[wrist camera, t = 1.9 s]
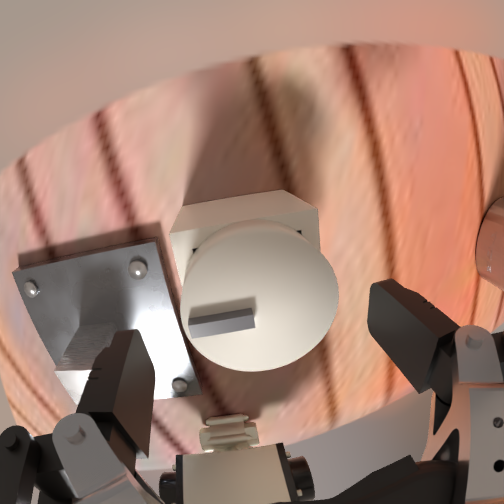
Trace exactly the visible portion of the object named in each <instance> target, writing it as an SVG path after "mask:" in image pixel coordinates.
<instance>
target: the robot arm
mask: <svg viewBox="0 0 504 504" xmlns="http://www.w3.org/2000/svg"><path fill="white" fill-rule="evenodd" d="M476 266H477V270H478V272H479V275H480V276H481V277H482V278H484V279H485V280H487V281H488V282H490V283H492V284H493V285H495V286H496V287H498V288H499V289H501V290H502V291H504V198H500V199H498V200H496V201H495V202H494V203H493V204H492V206H491V207H490V209H489V210H488V212H487V214H486V216H485V218H484V221H483V223H482V226H481V229H480V233H479V236H478V242H477V247H476ZM367 323H368V329H369V332H370V334H371V335H372V337H373V338H374V339H375V340H376V341H377V343H378V344H379V345H380V346H381V347H382V349H383V350H384V351H385V352H386V354H387V355H388V356H389V357H390V358H391V360H392V361H393V362H394V363H395V364H396V366H397V367H398V368H399V369H400V371H401V372H402V373H403V374H404V376H405V377H406V378H407V379H408V380H409V382H410V383H411V384H412V385H413V387H414V388H415V389H416V391H417V392H418V393H419V394H420V393H422V392H424V391H426V390H428V389H430V388H432V389H433V391H434V392H433V395H432V399H431V414H430V424H429V433H428V441H427V445H426V448H425V451H424V453H423V455H422V458H421V461H420V462H414V460H413V458H412V457H411V455H408V456H406V457H404V458H402V459H400V460H398V461H396V462H394V463H392V464H390V465H388V466H386V467H383V468H381V469H379V470H377V471H374V472H372V473H371V474H369V475H368V476H366V477H365V478H363V479H362V480H360V481H359V482H358V483H356V484H354V485H353V486H351V487H350V488H348V489H347V490H345V491H344V492H342V493H340V494H339V495H337V496H335V497H333V498H330V499H325V500H314V501H297V502H276V503H271V504H504V331H503V332H499V333H495V334H490V333H489V332H488V331H487V330H485V329H484V328H482V327H479V326H475V325H466V326H463V327H460V326H458V325H457V324H456V323H455V322H454V321H452V320H451V319H450V318H449V317H448V316H446V315H445V314H444V313H443V312H441V311H440V310H439V309H438V308H435V306H434V305H433V304H431V303H430V302H427V300H426V299H425V298H424V297H422V296H421V295H420V294H419V293H417V292H414V291H412V290H409V289H407V288H404V287H403V286H402V285H400V284H399V283H398V282H396V281H395V280H394V279H387V280H383V281H380V282H376V283H373V284H372V285H371V287H370V296H369V308H368V318H367ZM91 369H92V371H90V374H89V376H88V380H87V382H86V384H85V387H84V390H83V393H82V395H81V398H80V401H79V404H78V407H77V410H76V413H74V414H70V415H68V416H66V417H64V418H63V419H61V420H60V421H59V422H58V423H57V425H56V426H55V428H54V430H53V433H51V434H46V435H41V436H36V437H33V436H32V435H31V434H30V433H29V432H28V431H27V430H26V429H25V428H24V427H22V426H11V427H9V428H7V429H6V430H4V431H3V433H2V434H1V435H0V504H31V499H32V493H33V487H34V486H35V487H36V488H37V489H39V490H40V493H39V499H38V504H165V503H164V502H163V501H162V500H161V498H160V497H159V496H158V495H157V494H156V493H155V492H154V491H153V489H152V488H151V487H150V486H149V485H148V483H147V482H146V481H145V480H144V479H143V477H142V476H141V475H140V474H139V472H138V471H137V470H136V469H135V463H136V459H148V457H149V443H150V431H151V421H152V411H153V402H154V393H155V385H156V372H155V368H154V364H153V362H152V359H151V357H150V355H149V352H148V350H147V347H146V345H145V343H144V340H143V338H142V335H141V333H140V331H139V330H138V329H131V330H123V331H117V332H115V334H114V337H113V339H112V342H111V345H110V347H105V348H104V349H103V350H102V351H101V352H100V353H99V354H98V356H97V357H96V358H95V361H94V363H93V366H92V368H91Z"/></svg>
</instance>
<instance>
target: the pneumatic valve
mask: <svg viewBox="0 0 504 504" xmlns="http://www.w3.org/2000/svg"><path fill="white" fill-rule="evenodd" d="M247 419H249V417H248V416H247V415H242V413H241V414H234V415H226V416H218V417H209V419H207V420H206V425H207V426H210V427H208V428H201V429H200V431H199V436H200V443H201V447H202V449H203V450H204V451H205V452H206V451H213V452H212V453H204V454H187V455H176V465H172V468H173V470H174V471H176V472H164V473H162V475H161V477H160V481H159V495H160V498H161V500H162V501H163V502H164V503H165V504H271V503H276V502H297V501H310V500H313V499H314V498H315V490H314V484H313V479H312V475H311V472H310V469H309V466H308V463H307V461H306V459H305V458H304V457H303V456H300V457H296V458H292V459H287V458H290V457H291V455H290V452H285V449H284V445H283V443H278V444H272V445H267V446H261V447H255V448H253V447H251V448H249V446H256V445H258V444H259V438H258V432H257V427H256V423H255V422H248V423H244V422H245V421H247Z"/></svg>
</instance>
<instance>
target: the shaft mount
mask: <svg viewBox="0 0 504 504" xmlns="http://www.w3.org/2000/svg"><path fill="white" fill-rule="evenodd" d="M12 274H13V276H14V279H15V282H16V284H17V287H18V289H19V292H20V294H21V297H22V299H23V301H24V304H25V306H26V308H27V311H28V313H29V315H30V317H31V319H32V321H33V323H34V325H35V328H36V330H37V332H38V334H39V335H40V337H41V339H42V341H43V343H44V345H45V347H46V349H47V351H48V352H49V354H50V356H51V358H52V359H53V361H54V363H55V365H56V368H55V370H54V372H55V373H56V375H57V376H58V378H59V380H60V381H61V383H62V384H63V386H64V387H65V389H66V390H67V392H68V393H69V395H70V396H71V398H72V399H73V400H74V402H75V403H76V404H79V401H80V398H81V395H82V393H83V390H84V387H85V384H86V382H87V380H88V376H89V374H90V371H92V369H91V368H92V366H93V363H94V361H95V358H96V357H97V356H98V354H99V353H100V352H101V351H102V350H103V349H104V348H105V347H110V345H111V342H112V339H113V337H114V334H115V332H117V331H123V330H131V329H138V330H139V331H140V333H141V335H142V338H143V340H144V343H145V345H146V347H147V350H148V352H149V355H150V357H151V359H152V362H153V364H154V368H155V372H156V385H155V393H154V399H162V398H173V397H183V396H192V395H200V394H202V384H201V381H200V378H199V375H198V373H197V370H196V367H195V364H194V361H193V358H192V355H191V352H190V349H189V346H188V343H187V340H186V337H185V334H184V331H183V328H182V324H181V321H180V318H179V315H178V311H177V308H176V304H175V301H174V298H173V294H172V290H171V287H170V283H169V280H168V276H167V272H166V268H165V264H164V261H163V257H162V253H161V249H160V244H159V240H158V237H154V238H149V239H144V240H139V241H134V242H129V243H124V244H120V245H115V246H110V247H105V248H100V249H96V250H91V251H87V252H82V253H77V254H73V255H68V256H64V257H60V258H55V259H51V260H47V261H42V262H38V263H34V264H30V265H26V266H22V267H18V268H17V269H16V270H14V271H13V272H12Z"/></svg>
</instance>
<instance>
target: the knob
mask: <svg viewBox="0 0 504 504" xmlns="http://www.w3.org/2000/svg"><path fill="white" fill-rule="evenodd" d="M169 236H170V240H171V244H172V249H173V253H174V257H175V261H176V265H177V269H178V273H179V277H180V281H181V285H182V295H181V304H180V314H181V321H182V325H183V328H184V330H185V333H186V335H187V337H188V339H189V340H190V342H191V343H192V344H193V346H194V347H195V348H196V349H197V350H198V351H199V352H200V353H201V354H202V355H203V356H205V357H206V358H208V359H209V360H211V361H212V362H214V363H216V364H218V365H221V366H223V367H226V368H230V369H233V370H239V371H252V372H253V371H265V370H271V369H275V368H279V367H282V366H284V365H287V364H289V363H291V362H293V361H296V360H297V359H299V358H301V357H302V356H304V355H305V354H307V353H308V352H309V351H310V350H312V349H313V348H314V347H315V346H316V345H317V344H318V343H319V342H320V341H321V340H322V338H323V337H324V336H325V334H326V333H327V331H328V330H329V328H330V326H331V324H332V322H333V320H334V317H335V315H336V311H337V307H338V299H339V291H338V283H337V279H336V276H335V273H334V271H333V269H332V267H331V265H330V264H329V262H328V261H327V259H326V258H325V257H324V256H323V254H321V253H320V234H319V219H318V209H317V208H316V207H314V206H312V205H310V204H308V203H307V202H305V201H303V200H301V199H299V198H298V197H296V196H294V195H292V194H290V193H288V192H287V191H285V190H276V191H269V192H262V193H255V194H249V195H243V196H236V197H230V198H224V199H218V200H213V201H207V202H201V203H196V204H191V205H185V206H182V207H181V209H180V212H179V214H178V216H177V218H176V220H175V222H174V224H173V226H172V229H171V231H170V233H169Z"/></svg>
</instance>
